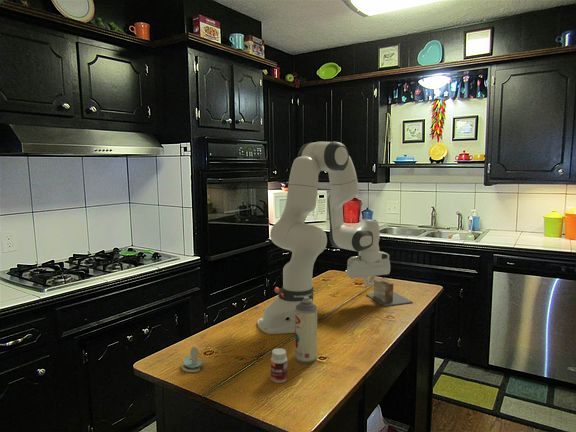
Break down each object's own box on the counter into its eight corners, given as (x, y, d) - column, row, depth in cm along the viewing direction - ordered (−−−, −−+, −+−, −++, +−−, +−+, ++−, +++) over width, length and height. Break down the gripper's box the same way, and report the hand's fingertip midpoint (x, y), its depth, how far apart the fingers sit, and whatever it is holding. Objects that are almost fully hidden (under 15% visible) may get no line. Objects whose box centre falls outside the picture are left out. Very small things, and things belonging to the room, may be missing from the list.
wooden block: (384, 302, 181) (384, 284, 180) (373, 296, 190) (373, 279, 189) (392, 301, 183) (393, 283, 182) (381, 295, 191) (382, 278, 190)
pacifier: (195, 376, 120) (208, 366, 126) (194, 356, 119) (207, 347, 125) (176, 370, 124) (190, 361, 129) (175, 350, 123) (189, 342, 128)
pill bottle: (267, 381, 117) (267, 353, 116) (275, 373, 121) (275, 346, 120) (283, 384, 115) (283, 356, 114) (290, 376, 119) (290, 349, 118)
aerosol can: (294, 353, 134) (294, 293, 131) (315, 353, 134) (316, 293, 132) (295, 363, 127) (295, 301, 125) (317, 363, 127) (318, 300, 125)
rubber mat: (385, 306, 177) (385, 305, 177) (366, 295, 192) (366, 294, 192) (412, 302, 182) (412, 301, 182) (391, 292, 197) (391, 291, 197)
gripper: (351, 258, 174) (350, 290, 176) (392, 254, 181) (391, 285, 183) (344, 255, 180) (343, 286, 182) (384, 251, 187) (383, 281, 189)
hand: (368, 285), depth 183 cm, fingers closed
